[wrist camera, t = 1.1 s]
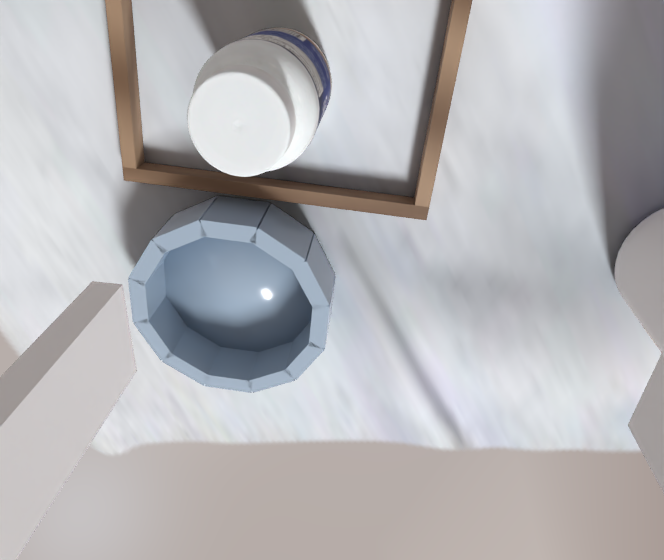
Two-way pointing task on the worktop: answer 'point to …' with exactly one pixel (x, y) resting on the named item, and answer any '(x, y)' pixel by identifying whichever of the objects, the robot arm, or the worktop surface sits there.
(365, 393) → the worktop surface
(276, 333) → the bowl
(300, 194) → the empty rectangular wooden frame
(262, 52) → the pill bottle
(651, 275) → the milk bottle
